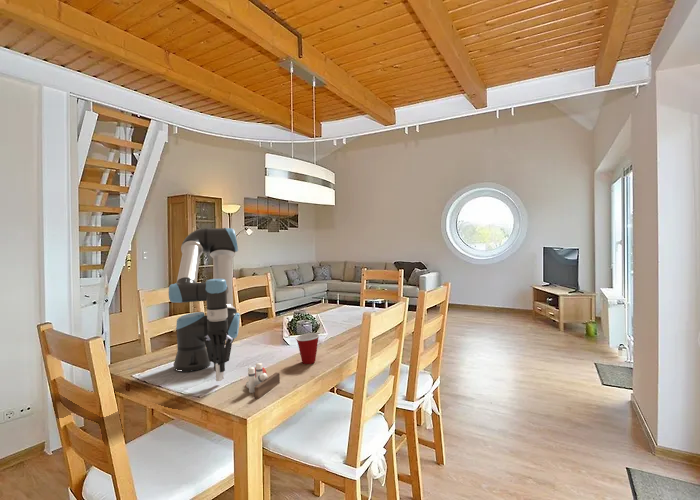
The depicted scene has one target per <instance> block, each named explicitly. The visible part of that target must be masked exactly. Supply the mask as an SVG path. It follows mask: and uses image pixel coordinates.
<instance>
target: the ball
mask: <svg viewBox="0 0 700 500" xmlns="http://www.w3.org/2000/svg"><path fill="white" fill-rule="evenodd" d="M254 368H255V378H256V366H255V367H254ZM262 368H263V373H266V374H267V370H266V369H265V367H263V366H262ZM267 375H268V374H267Z"/></svg>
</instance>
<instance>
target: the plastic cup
mask: <svg viewBox="0 0 700 500" xmlns="http://www.w3.org/2000/svg"><path fill="white" fill-rule="evenodd" d="M319 338H320V334H319V333H315V332H314V333H313V332H311V333H305V334H300V335H297V336H295V340H296V342H297V345H298V350H299V355H300V358H301V363H302V364H304V365H311V364H315V363H316V359H317V353H318V352H317V351H318V343H319Z"/></svg>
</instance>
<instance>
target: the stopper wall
mask: <svg viewBox="0 0 700 500" xmlns="http://www.w3.org/2000/svg"><path fill="white" fill-rule="evenodd" d="M280 379H281V377H280V372H274V373H273V374H272V375H270V376H268V377H267V379H265V380H264V381H263V382H261V383H260V384H258V385H256V386H255V387H254V390H255V392H254V399H257V400H260V399H261V398H262V397H263V396H265V395H266V394H267V393H269V392H270V391H271V390H272V389H274V388H275V387H277V386H278V385H280V383H281V381H280Z"/></svg>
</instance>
